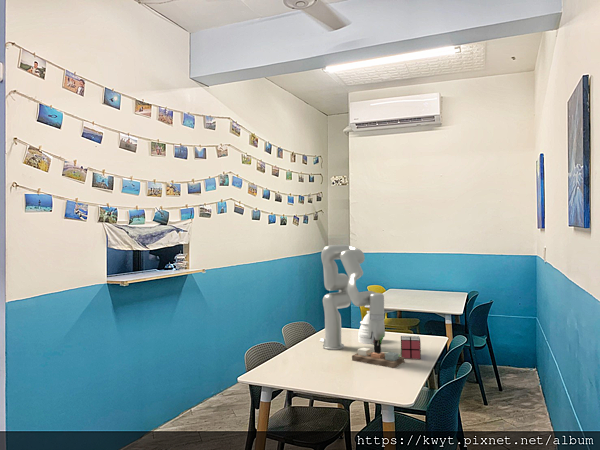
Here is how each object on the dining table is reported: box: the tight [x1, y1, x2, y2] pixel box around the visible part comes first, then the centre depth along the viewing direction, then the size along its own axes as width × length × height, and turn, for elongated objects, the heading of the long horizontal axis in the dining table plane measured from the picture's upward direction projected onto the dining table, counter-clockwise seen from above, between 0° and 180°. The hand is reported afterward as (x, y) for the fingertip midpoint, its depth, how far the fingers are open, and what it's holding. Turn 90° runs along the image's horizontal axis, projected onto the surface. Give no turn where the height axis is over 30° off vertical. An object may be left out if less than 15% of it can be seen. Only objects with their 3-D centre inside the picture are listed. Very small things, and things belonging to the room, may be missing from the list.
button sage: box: [384, 351, 400, 361], centre depth 232 cm, size 5×5×3 cm
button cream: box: [357, 347, 372, 356], centre depth 242 cm, size 5×5×3 cm
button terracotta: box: [371, 351, 385, 359], centre depth 237 cm, size 5×5×3 cm
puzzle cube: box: [400, 335, 422, 360], centre depth 245 cm, size 10×10×10 cm
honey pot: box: [357, 310, 374, 345], centre depth 280 cm, size 13×13×18 cm
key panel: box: [351, 351, 405, 369], centre depth 237 cm, size 24×12×2 cm, turn 52°
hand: (377, 352), depth 237 cm, fingers closed
